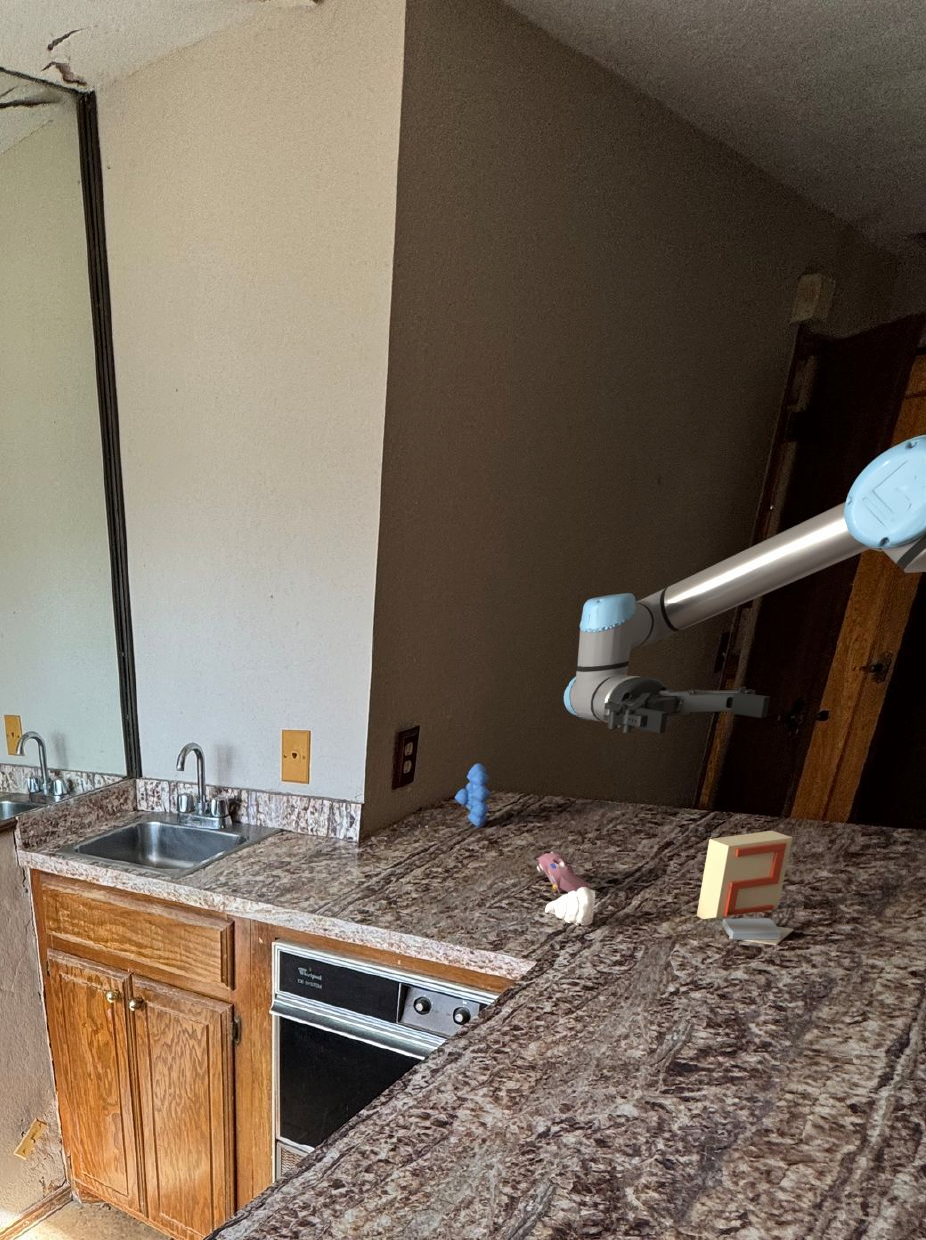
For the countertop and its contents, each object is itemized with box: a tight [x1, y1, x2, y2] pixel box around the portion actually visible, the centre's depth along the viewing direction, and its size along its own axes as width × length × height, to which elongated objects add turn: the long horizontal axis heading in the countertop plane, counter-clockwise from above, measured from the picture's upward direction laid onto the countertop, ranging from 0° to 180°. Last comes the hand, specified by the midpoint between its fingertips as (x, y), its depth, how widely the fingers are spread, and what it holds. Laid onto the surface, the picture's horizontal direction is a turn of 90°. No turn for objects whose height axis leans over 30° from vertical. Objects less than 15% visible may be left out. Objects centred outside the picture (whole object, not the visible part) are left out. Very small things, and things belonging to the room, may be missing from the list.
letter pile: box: [721, 917, 795, 946], centre depth 111 cm, size 12×10×3 cm
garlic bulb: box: [544, 887, 596, 927], centre depth 127 cm, size 6×6×5 cm
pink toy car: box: [536, 851, 591, 894], centre depth 140 cm, size 10×5×7 cm, turn 168°
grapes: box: [454, 762, 491, 828], centre depth 178 cm, size 12×7×12 cm, turn 166°
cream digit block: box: [696, 830, 793, 920], centre depth 119 cm, size 8×4×11 cm, turn 89°
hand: (714, 715), depth 123 cm, fingers open, 13 cm apart
